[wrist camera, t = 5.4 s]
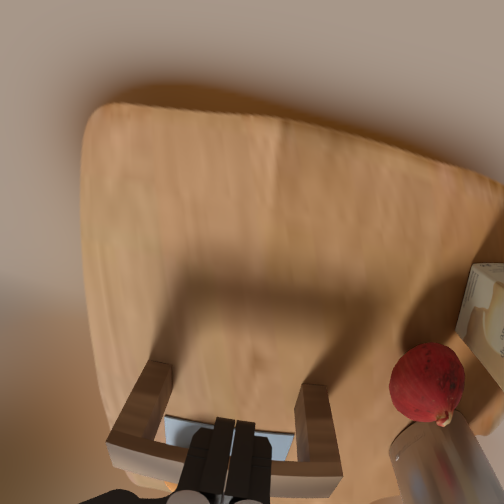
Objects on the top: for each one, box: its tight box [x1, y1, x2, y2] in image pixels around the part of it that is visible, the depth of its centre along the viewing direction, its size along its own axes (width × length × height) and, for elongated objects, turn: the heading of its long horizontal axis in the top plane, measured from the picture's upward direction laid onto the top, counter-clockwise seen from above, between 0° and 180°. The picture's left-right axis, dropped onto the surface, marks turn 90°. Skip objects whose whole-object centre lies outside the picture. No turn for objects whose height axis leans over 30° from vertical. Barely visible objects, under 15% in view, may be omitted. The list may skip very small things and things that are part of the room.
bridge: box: [106, 360, 343, 498], centre depth 20 cm, size 3×14×9 cm, turn 83°
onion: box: [389, 342, 465, 427], centre depth 19 cm, size 6×6×8 cm
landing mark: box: [164, 416, 294, 461], centre depth 28 cm, size 12×12×1 cm
